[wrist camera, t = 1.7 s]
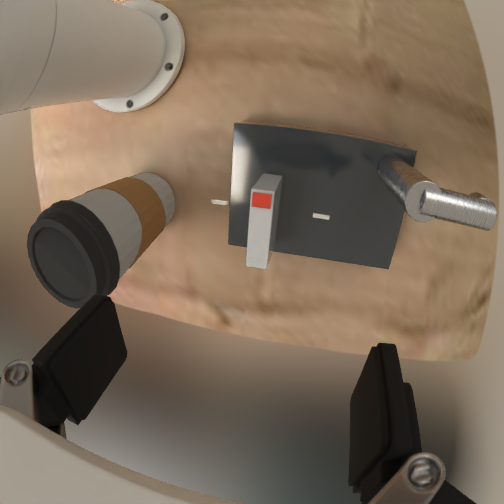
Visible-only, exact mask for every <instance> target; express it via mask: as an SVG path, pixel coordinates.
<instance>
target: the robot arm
mask: <svg viewBox="0 0 504 504" xmlns="http://www.w3.org/2000/svg"><path fill="white" fill-rule="evenodd" d="M167 17H168V18H167ZM166 18H167V20H166ZM184 51H185V38H184V32H183V29H182V26H181V23H180V21H179V20H178V18H177V16H176V15H175V14H174V13H173V12H172V11H171V10H170V9H168V8H167V7H165V6H163V5H162V4H159V3H157V2H154V1H150V0H133V1H129V2H125V3H123V4H119V3H116V2H113V1H110V0H0V115H2V114H6V113H11V112H16V111H22V110H27V109H32V108H38V107H44V106H50V105H57V104H64V103H72V102H80V101H90V100H92V101H93V102H94V103H95V104H96V105H98V106H99V107H101V108H103V109H105V110H107V111H111V112H121V113H125V112H132V111H136V110H139V109H142V108H144V107H146V106H148V105H150V104H152V103H153V102H155V101H156V100H157V99H159V98H160V97H161V96H162V95H163V94H164V93H165V92H166V91H167V90H168V89H169V87H170V86H171V84H172V83H173V81H174V80H175V78H176V76H177V74H178V72H179V70H180V68H181V65H182V61H183V58H184ZM172 65H173V68H172V70H171V66H172ZM133 103H134V104H133ZM126 357H127V350H126V346H125V343H124V339H123V335H122V332H121V328H120V324H119V320H118V316H117V313H116V308H115V304H114V302H112V300H111V298H110V297H108V296H104V295H100V294H95V295H93V296H92V297H91V298H90V299H89V300H88V301H87V302H86V303H85V304H84V305H83V306H82V307H81V308H80V309H79V310H78V311H77V312H76V314H74V315H73V316H72V318H71V319H70V320H69V321H68V322H67V323H66V324H65V325H64V326H63V327H62V328H61V329H60V330H59V331H58V332H57V333H56V334H55V335H54V336H53V337H52V338H51V339H50V340H49V342H48V343H47V344H46V345H45V346H44V347H43V348H42V349H41V350H40V351H39V352H38V353H37V355H36V356H35V357H34V358H33V359H32V360H33V362H34V364H33V365H32V366H31V364H30V363H29V362H27V361H26V360H22V359H21V360H15V361H12V362H11V363H9V364H8V365H7V366H6V367H5V368H4V370H3V371H2V374H1V377H0V504H244V503H239V502H234V501H229V500H225V499H221V498H217V497H213V496H209V495H205V494H201V493H197V492H194V491H191V490H187V489H184V488H180V487H177V486H174V485H171V484H168V483H165V482H162V481H159V480H156V479H154V478H151V477H148V476H145V475H142V474H140V473H138V472H135V471H132V470H130V469H128V468H125V467H123V466H121V465H118V464H116V463H114V462H111V461H109V460H107V459H105V458H102V457H100V456H98V455H96V454H94V453H92V452H90V451H88V450H86V449H84V448H82V447H80V446H78V445H76V444H74V443H73V442H71V441H69V440H67V439H66V433H65V426H64V421H65V420H66V418H67V419H68V420H69V421H71V422H73V423H75V424H77V425H79V423H80V422H81V420H84V419H86V418H87V416H88V415H89V413H90V412H91V410H92V409H93V407H94V406H95V404H96V403H97V401H98V400H99V398H100V397H101V395H102V393H103V392H104V391H105V389H106V388H107V386H108V385H109V383H110V382H111V380H112V379H113V377H114V376H115V374H116V373H117V372H118V370H119V368H120V367H121V366H122V364H123V363H124V361H125V360H126ZM445 473H446V471H445V467H444V464H443V463H442V461H441V460H440V459H439V458H438V457H437V456H435V455H433V454H431V453H425V452H422V448H421V440H420V433H419V426H418V420H417V414H416V408H415V402H414V397H413V391H412V387H411V385H410V384H409V383H403V380H402V373H401V368H400V363H399V358H398V353H397V348H396V345H395V344H387V343H378V345H377V347H372V348H371V350H370V353H369V355H368V358H367V360H366V363H365V365H364V368H363V370H362V373H361V375H360V378H359V380H358V382H357V385H356V387H355V389H354V392H353V394H352V397H351V401H350V456H349V479H348V483H349V486H353V493H361V498H360V501H361V502H362V504H476V503H474V502H473V501H472V500H471V499H469V498H468V497H467V496H465V495H464V494H462V493H461V492H460V491H459V490H457V489H456V488H455V487H453V486H452V485H451V484H449V483H448V482H447V481H446V480H444V479H445Z"/></svg>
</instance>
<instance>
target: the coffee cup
mask: <svg viewBox="0 0 504 504" xmlns="http://www.w3.org/2000/svg"><path fill="white" fill-rule="evenodd" d="M174 212H175V196H174V193H173V190H172V189H171V187H170V185H169V184H168V183H167V182H166V181H165V180H164V179H163V178H161V177H159V176H158V175H156V174H152V173H140V174H137V175H134V176H131V177H126V178H123V179H120V180H117V181H115V182H112V183H109V184H106V185H104V186H101V187H98V188H95V189H93V190H90V191H88V192H86V193H84V194H82V195H80V196H77V197H75V198H73V199H70V200H61V201H59V202H56V203H54V204H53V205H52V206H51V207H50V208H48V209H46V210H44V211H43V212H42V213H41V214H40V216H39V217H38V218H37V221H36V222H35V223H34V224H33V225H32V227H31V228H30V231H29V234H28V240H27V248H28V255H29V259H30V262H31V265H32V268H33V270H34V272H35V273H36V276H37V277H38V279H39V281H40V282H41V284H42V285H43V286H44V288H45V289H46V290H47V291H48V292H49V293H50V294H51V295H52V296H53V297H54V298H56V299H57V300H58V301H59V302H61V303H63V304H65V305H67V306H70V307H73V308H81V307H82V306H83V305H84V304H85V303H86V302H87V301H88V300H89V299H90V298H91V297H92V296H93V295H95V294H100V295H104V296H107V295H109V294H111V293H112V291H113V290H114V289H115V288H116V286H117V283H118V280H119V279H120V278H121V277H122V275H123V274H124V273H125V272H126V271H127V269H128V268H130V267H131V266H132V265H133V264H134V263H135V262H136V261H137V259H138V258H139V257H140V256H141V255H142V254H143V252H144V251H145V250H146V249H147V248H148V247H149V245H150V244H151V243H152V242H153V241H154V240H155V239H156V238H157V236H158V235H159V234H160V233H161V232H162V231H163V229H164V227H165V226H166V225H167V224H168V223H169V222H170V221H171V219H172V217H173V215H174Z"/></svg>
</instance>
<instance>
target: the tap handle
mask: <svg viewBox="0 0 504 504" xmlns="http://www.w3.org/2000/svg"><path fill="white" fill-rule="evenodd" d="M281 186H282V176H281V175H273V174H265V173H263V175H262V176H261V177H260V178H259V180H258V181H257V182H256V183H255V185H254V186H253V187H252V189H251V198H250V212H249V226H248V240H247V254H246V266H249V267H255V268H261V269H267V266H268V263H269V260H270V257H271V254H272V251H273V248H274V244H275V241H276V232H277V223H278V214H279V205H280V195H281Z"/></svg>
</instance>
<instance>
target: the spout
mask: <svg viewBox="0 0 504 504" xmlns="http://www.w3.org/2000/svg"><path fill="white" fill-rule="evenodd" d="M377 174H378V176H379V178H380V179H381V180H382V181H383V183H384V184H385V185H386V186H387V188H388V189H389V190H390V191H391V193H392V194H393V195H394V196H395V198H396V199H397V200H398V201H399V203H400V204H401V205H402V207H403V208H404V209H405V211H406V212H407V213H408V215H409V216H410V217H411V218H412V219H414V220H416V221H418V222H428V221H431V220H433V219H434V218H435V219H440V220H444V221H449V222H453V223H457V224H462V225H466V226H470V227H474V228H478V229H482V230H486V231H488V230H490V229H492V227H493V226H494V224H495V221H496V216H497V211H496V207H495V205H494V203H493V202H491V201H490V200H489V199H488V198H486V197H485V196H483V195H482V194H480V193H477V192H475V193H471V194H469V195H467V194H463V193H459V192H455V191H452V190H448V189H444V188H440V187H438V186H437V185H436V184H435V183H434V182H432V181H431V180H430V179H428V178H427V177H426V176H424V175H423V174H421V173H420V172H419V171H417V170H416V169H414V168H413V167H412V166H410V165H409V164H407V163H406V162H404V161H403V160H401V159H400V158H399V157H397V156H395V155H386V156H384V157H382V158H381V159H380V160H379V162H378V164H377Z"/></svg>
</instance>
